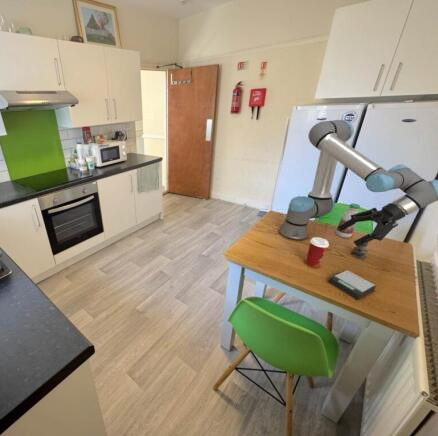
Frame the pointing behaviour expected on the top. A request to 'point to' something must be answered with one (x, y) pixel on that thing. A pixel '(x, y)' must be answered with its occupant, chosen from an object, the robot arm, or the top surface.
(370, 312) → the top surface
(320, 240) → the paper cup
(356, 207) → the milk bottle
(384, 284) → the top surface
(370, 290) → the scale
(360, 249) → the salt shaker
